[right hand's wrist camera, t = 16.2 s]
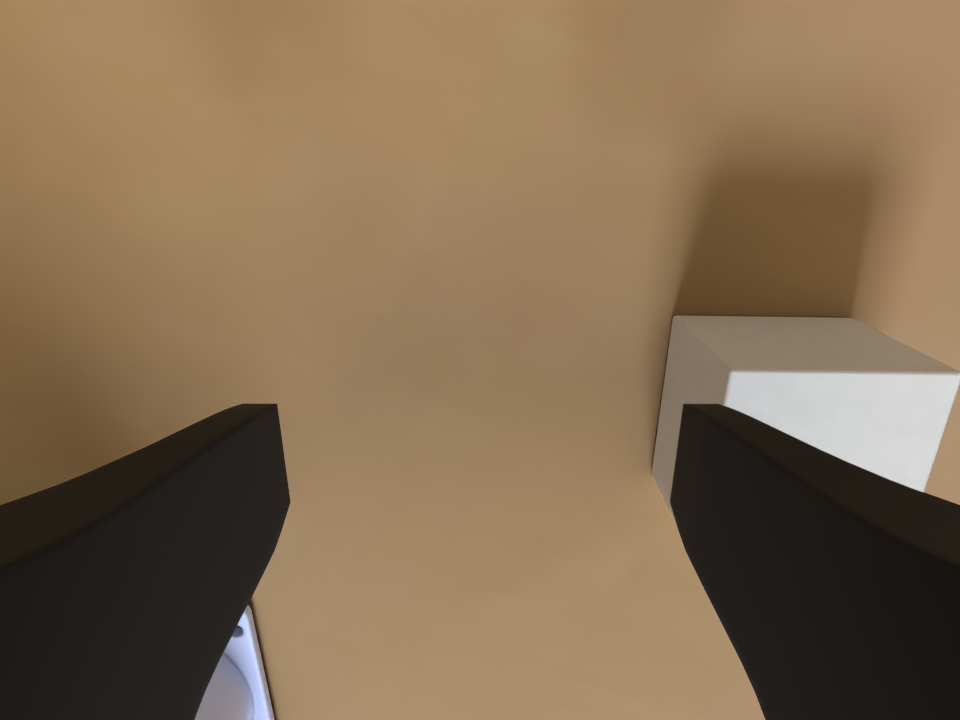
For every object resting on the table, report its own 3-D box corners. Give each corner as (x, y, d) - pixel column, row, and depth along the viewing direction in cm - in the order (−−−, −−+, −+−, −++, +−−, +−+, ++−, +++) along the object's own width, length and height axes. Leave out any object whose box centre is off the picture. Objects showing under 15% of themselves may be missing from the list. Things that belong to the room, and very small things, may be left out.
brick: (852, 316, 16) (965, 372, 13) (812, 476, 18) (900, 566, 14) (672, 314, 16) (730, 369, 13) (650, 474, 18) (695, 564, 14)
